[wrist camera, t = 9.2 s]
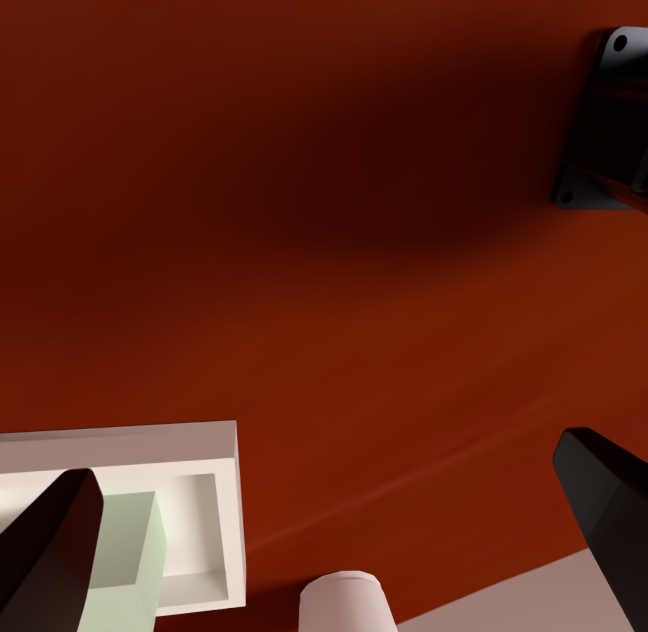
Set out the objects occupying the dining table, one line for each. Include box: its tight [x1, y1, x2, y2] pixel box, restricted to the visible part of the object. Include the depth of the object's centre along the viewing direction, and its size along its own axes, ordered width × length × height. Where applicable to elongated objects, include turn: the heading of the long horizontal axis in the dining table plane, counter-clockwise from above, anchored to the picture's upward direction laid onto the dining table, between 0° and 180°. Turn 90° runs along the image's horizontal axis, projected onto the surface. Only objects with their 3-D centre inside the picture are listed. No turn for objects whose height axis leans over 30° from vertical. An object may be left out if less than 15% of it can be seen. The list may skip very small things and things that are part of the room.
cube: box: [77, 491, 168, 632], centre depth 23 cm, size 5×5×5 cm
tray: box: [0, 420, 246, 616], centre depth 25 cm, size 14×14×2 cm
